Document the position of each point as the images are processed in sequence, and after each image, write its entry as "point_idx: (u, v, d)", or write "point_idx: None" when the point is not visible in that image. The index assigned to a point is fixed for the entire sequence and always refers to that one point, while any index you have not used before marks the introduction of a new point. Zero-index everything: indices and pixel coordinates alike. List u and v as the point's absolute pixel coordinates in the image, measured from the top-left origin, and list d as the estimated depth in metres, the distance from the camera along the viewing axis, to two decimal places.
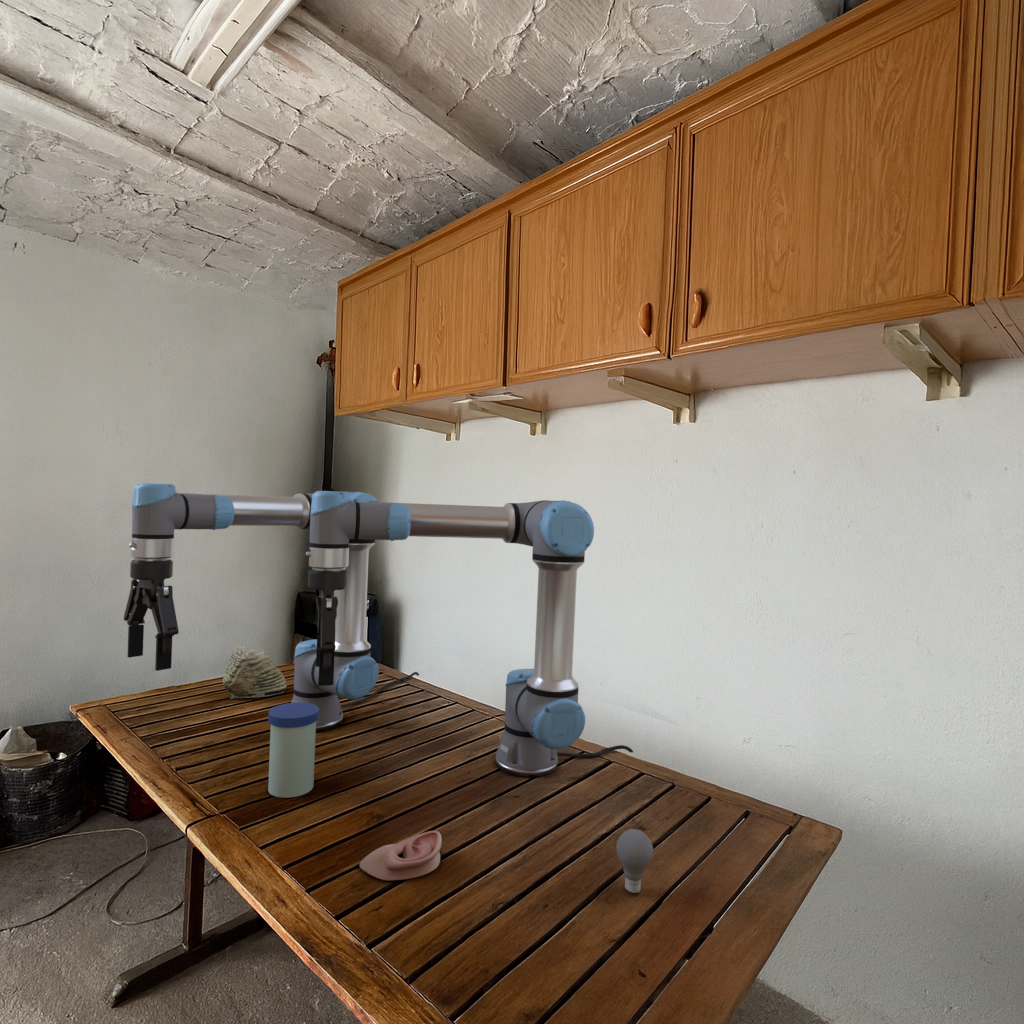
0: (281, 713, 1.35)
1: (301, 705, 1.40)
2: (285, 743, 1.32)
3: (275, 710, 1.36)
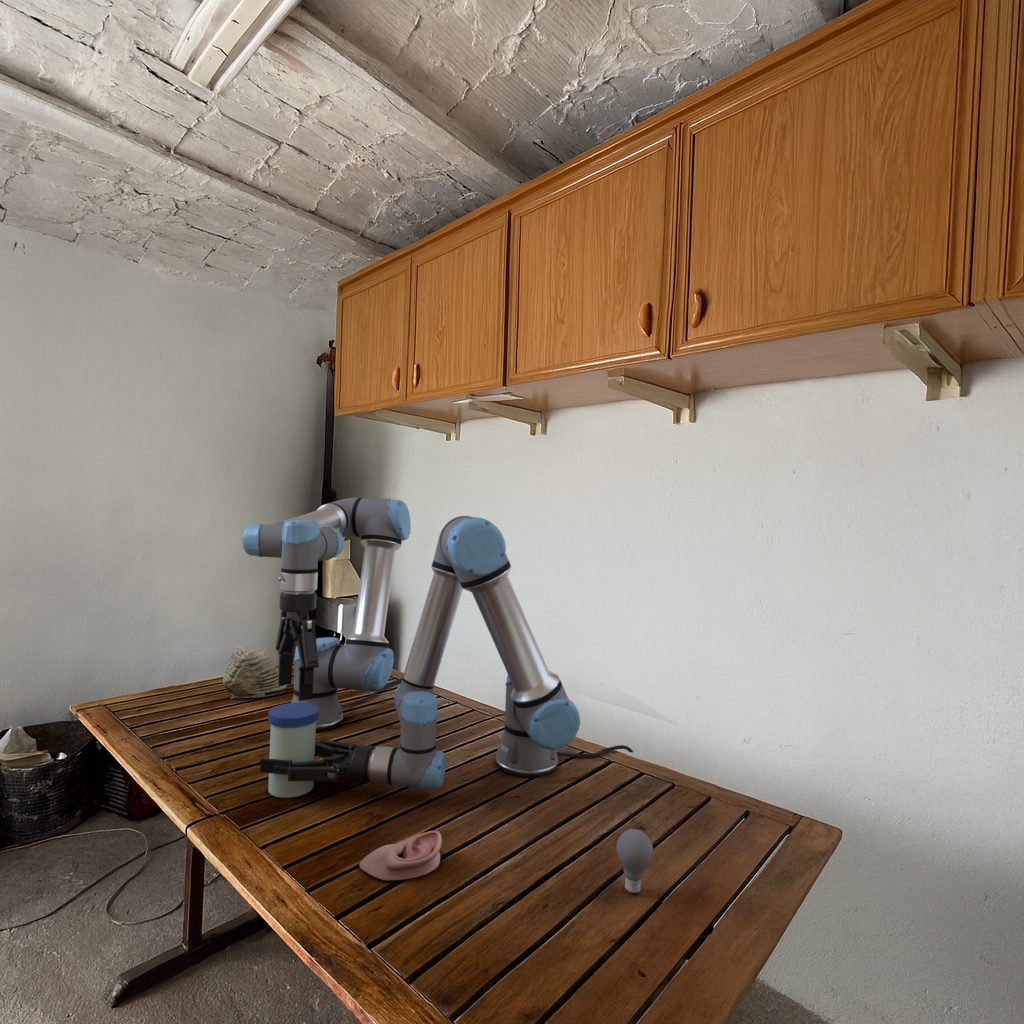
0: (281, 713, 1.35)
1: (301, 705, 1.40)
2: (285, 743, 1.32)
3: (275, 710, 1.36)
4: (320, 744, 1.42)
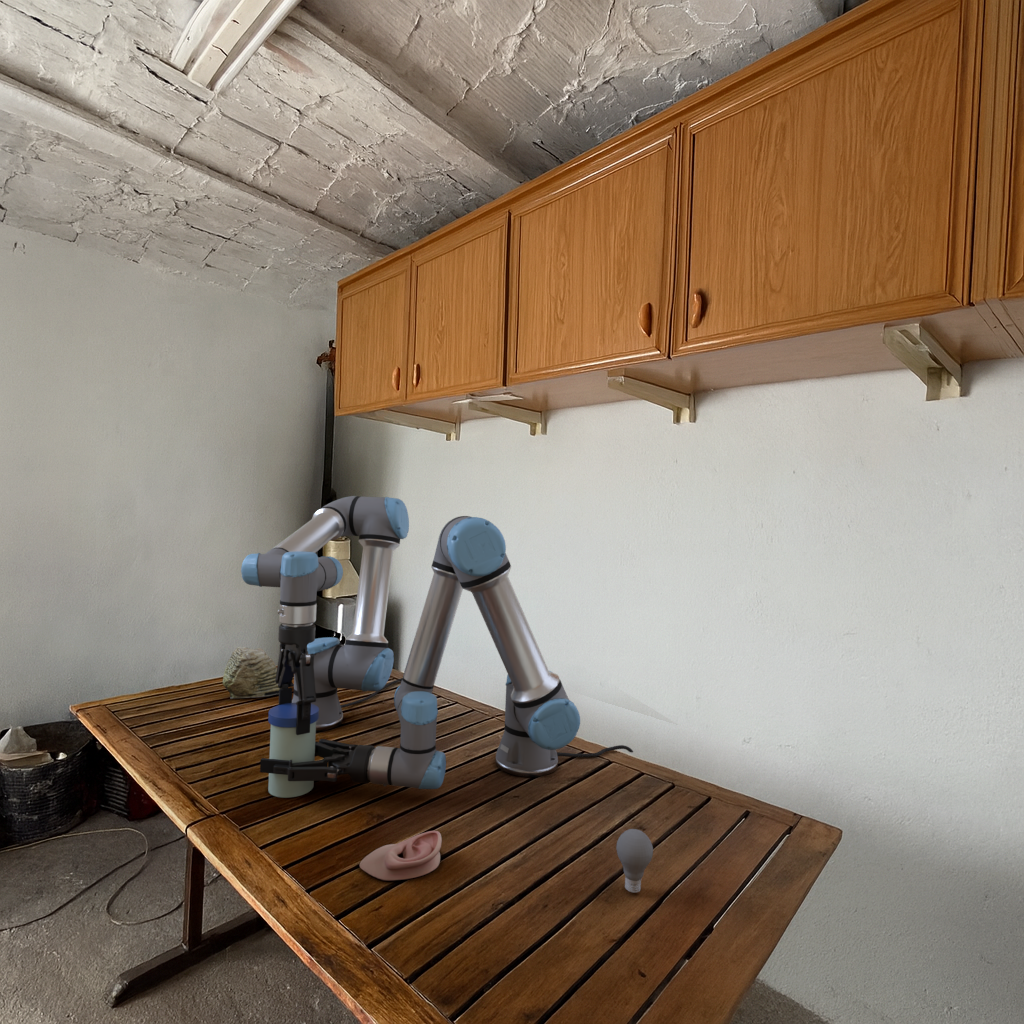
0: (281, 713, 1.35)
1: None
2: (285, 743, 1.32)
3: (275, 710, 1.36)
4: (320, 744, 1.42)
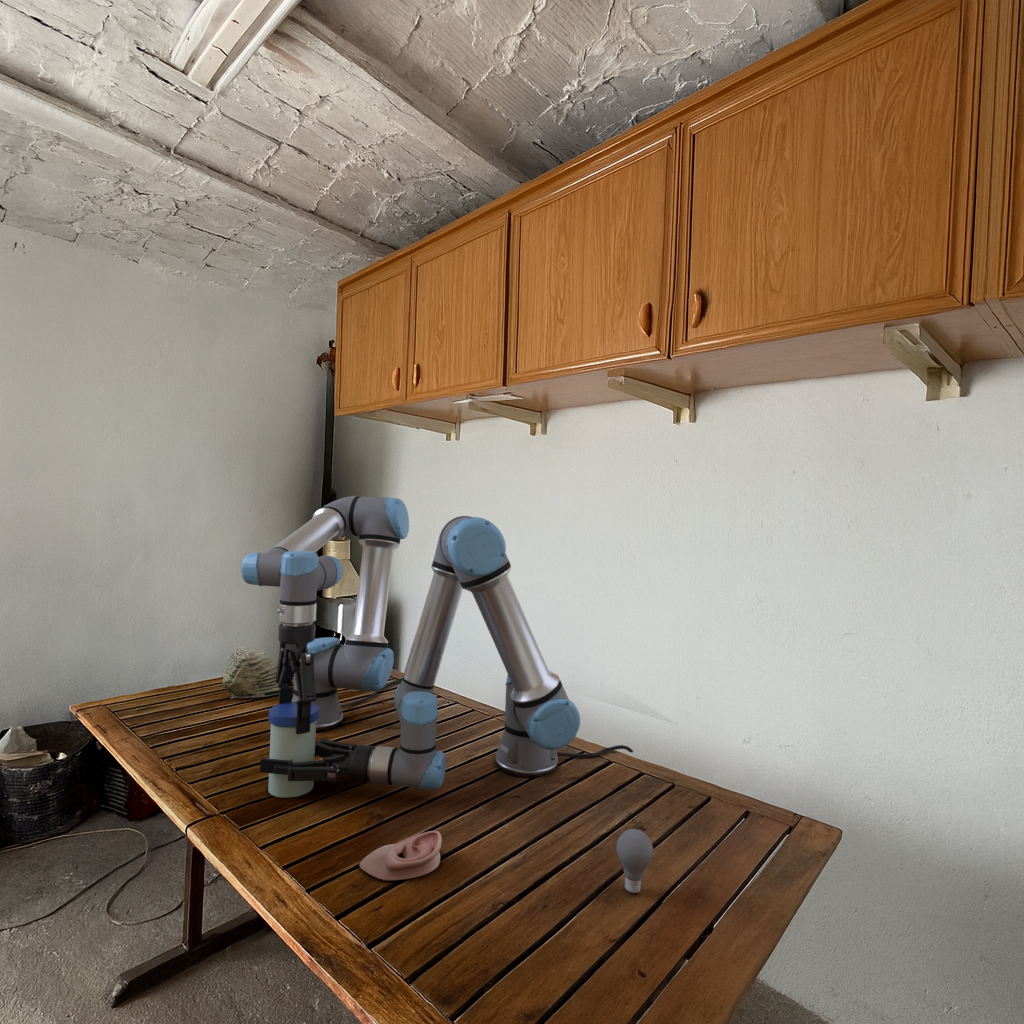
0: None
1: (282, 706, 1.38)
2: (285, 743, 1.32)
3: (286, 715, 1.33)
4: (320, 744, 1.42)
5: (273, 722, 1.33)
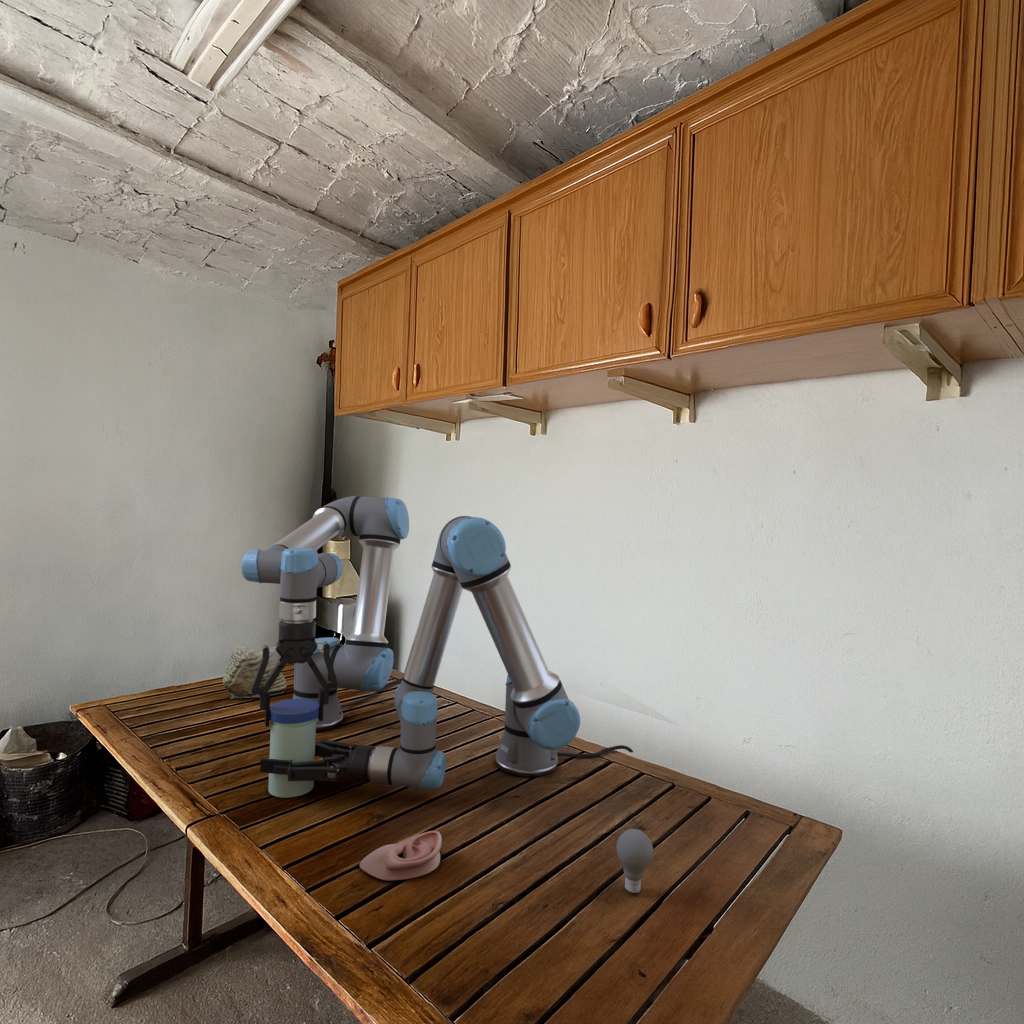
0: (309, 705, 1.38)
1: (281, 709, 1.35)
2: (285, 743, 1.32)
3: (309, 708, 1.36)
4: (320, 744, 1.42)
5: (304, 719, 1.33)
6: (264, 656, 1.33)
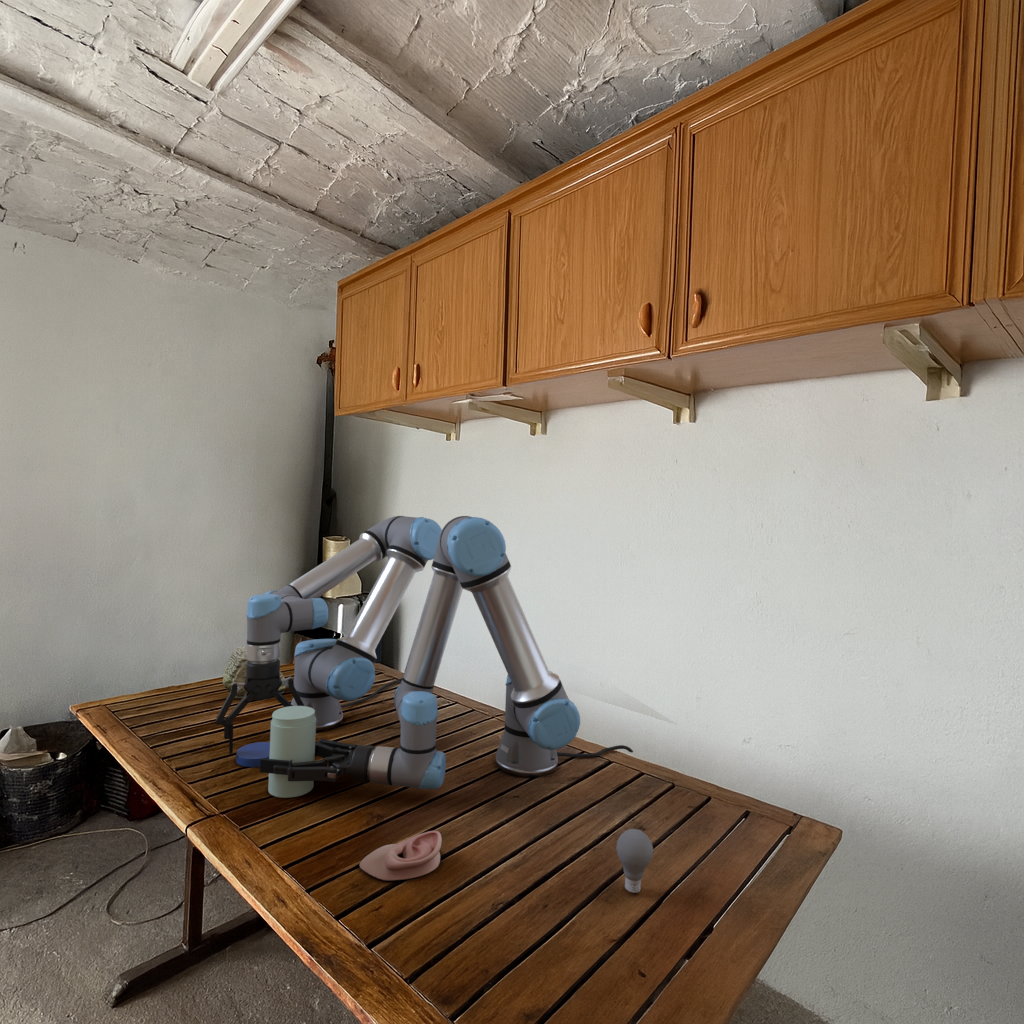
0: None
1: (246, 753, 1.49)
2: (285, 743, 1.32)
3: None
4: (320, 744, 1.42)
5: None
6: (232, 691, 1.48)
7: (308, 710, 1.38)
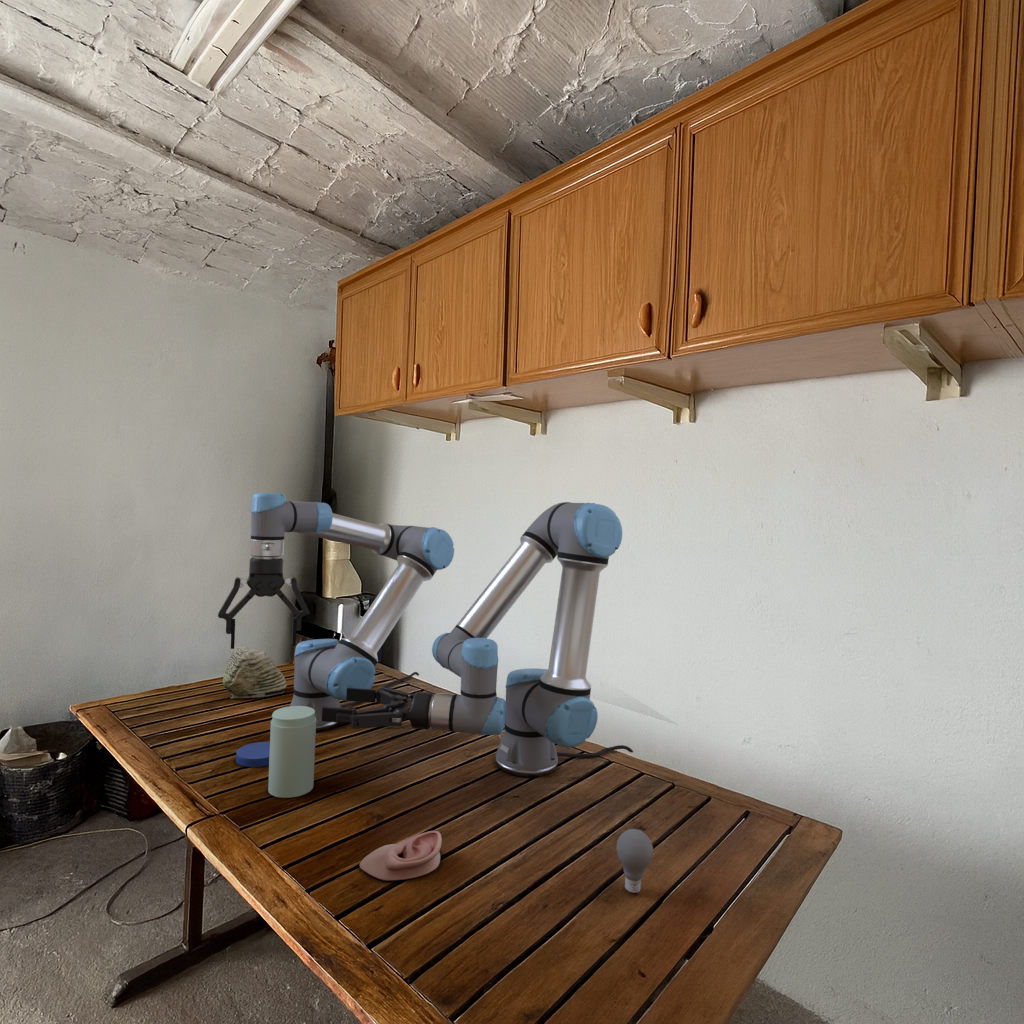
0: None
1: (246, 753, 1.49)
2: (285, 743, 1.32)
3: None
4: (383, 691, 1.42)
5: (267, 763, 1.48)
6: (235, 586, 1.47)
7: (308, 710, 1.38)
